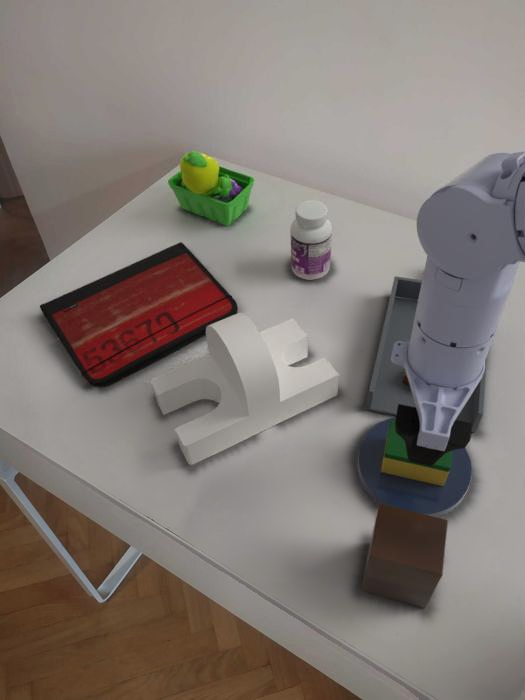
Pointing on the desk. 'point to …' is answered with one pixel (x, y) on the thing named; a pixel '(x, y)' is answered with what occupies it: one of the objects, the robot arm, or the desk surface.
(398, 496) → the plate
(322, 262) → the pill bottle
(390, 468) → the sponge
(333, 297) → the desk surface
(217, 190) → the fruit basket
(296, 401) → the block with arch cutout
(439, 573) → the brown wooden block
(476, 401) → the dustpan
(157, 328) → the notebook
